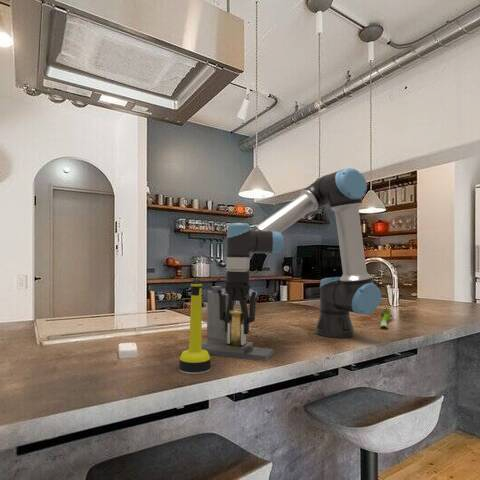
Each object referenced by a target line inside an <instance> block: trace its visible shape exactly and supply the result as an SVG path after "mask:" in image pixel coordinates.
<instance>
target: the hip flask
mask: <svg viewBox="0 0 480 480" xmlns="http://www.w3.org/2000/svg"><path fill="white" fill-rule="evenodd" d="M211 289H212V290H207V307H206V308H207V309H206V311H207V312H206V315H207V316H206V318H207V319H206V337H207V338H208V339H211V338H217V339H226V340H227V336H228V332H225V322H224V321H223V320H220V311H219V295H218V292H217V291H218V290H221V289H223V288H222V286H221V285H215V286H211ZM225 297H226V312H227V307H228V299H229V295H228V294H227V293H226V295H225Z"/></svg>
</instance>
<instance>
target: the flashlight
mask: <svg viewBox="0 0 480 480" xmlns="http://www.w3.org/2000/svg"><path fill="white" fill-rule="evenodd" d="M190 287H191V290H190V291H191V294H190V295H191V296H190V317H189V333H188V334H189V337H188V338H189V340H188V349H186V350H183V351H182V353H181V354H180V356H179V361H178V371H179V372H180V373H183V374H188V375H197V374H198V375H199V374H205V372H206V373H208V372H211V370H212V363H211V355H210V354H209V353H208V351H206V350H202V343H203V342H202V339H203V337H202V332H203V331H202V327H203V326H202V325H203V324H202V322H203V317H202V315H203V312H202V310H203V307H202V303H203V302H202V301H203V296H202V295H203V294H202V292H203V291H202V289H203V288H202V287H203V282H202V281H201V280H200V279H199V278H194V279H193V280H192V282H191V283H190Z"/></svg>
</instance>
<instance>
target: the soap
mask: <svg viewBox="0 0 480 480" xmlns="http://www.w3.org/2000/svg"><path fill="white" fill-rule="evenodd" d="M117 347H118V348H117V349H118V352H117V353H118V359H119V360H126V359H136V358H138V356H139V355H138V354H139V351H138V350H139V348H138V345H137V344H136V342H121V343H119V344H118V346H117Z"/></svg>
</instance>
